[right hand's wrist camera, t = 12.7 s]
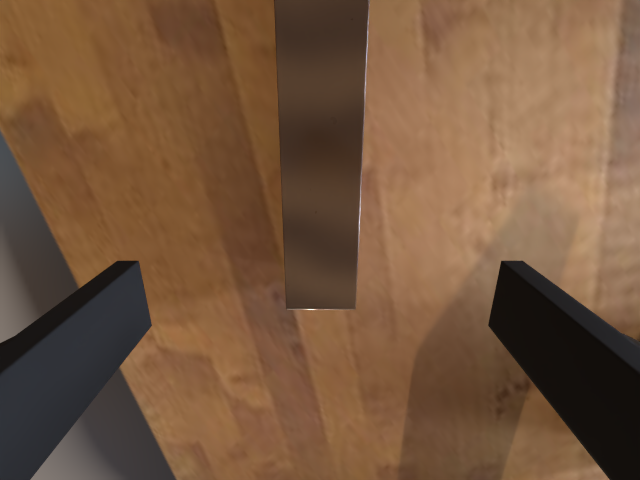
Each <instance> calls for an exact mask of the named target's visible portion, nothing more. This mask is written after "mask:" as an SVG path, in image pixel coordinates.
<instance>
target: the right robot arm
mask: <svg viewBox="0 0 640 480" xmlns="http://www.w3.org/2000/svg"><path fill="white" fill-rule="evenodd" d="M151 326H152V324H151V319H150V314H149V309H148V305H147V300H146V295H145V290H144V285H143V280H142V275H141V270H140V265H139V261H117V262H115V263H114V264H112V265H111V266H110V267H108V268H107V269H106V270H104V271H103V272H102V273H100V274H99V275H97V276H96V277H95V278H93V279H92V280H91V281H89V282H88V283H87V284H85V285H84V286H82V287H81V288H80V289H78V290H77V291H76V292H74V293H73V294H72V295H70V296H69V297H68V298H66V299H65V300H63V301H62V302H61V303H59V304H58V305H57V306H55V307H54V308H52V309H51V310H50V311H48V312H47V313H46V314H44V315H43V316H42V317H40V318H39V319H37V320H36V321H35V322H33V323H32V324H31V325H29V326H28V327H27V328H25V329H24V330H22V331H21V332H20V333H18V334H17V335H16V336H14V337H12V338H10V339H8V340H6V341H4V342H2V343H0V480H30V479H31V478H32V477H33V475H34V474H35V473H36V472H37V470H38V469H39V468H40V466H41V465H42V464H43V463H44V462H45V460H46V459H47V458H48V456H49V455H50V454H51V453H52V451H53V450H54V449H55V448H56V446H57V445H58V444H59V442H60V441H61V440H62V439H63V437H64V436H65V435H66V434H67V432H68V431H69V430H70V429H71V427H72V426H73V425H74V423H75V422H76V421H77V420H78V418H79V417H80V416H81V415H82V413H83V412H84V411H85V409H86V408H87V407H88V406H89V404H90V403H91V402H92V401H93V399H94V398H95V397H96V396H97V394H98V393H99V392H100V390H101V389H102V388H103V387H104V385H105V384H106V383H107V382H108V380H109V379H110V378H111V377H112V375H113V374H114V373H115V371H116V370H117V369H118V368H119V366H120V365H121V364H122V363H123V361H124V360H125V359H126V358H127V356H128V355H129V354H130V352H131V351H132V350H133V349H134V347H135V346H136V345H137V344H138V342H139V341H140V340H141V339H142V337H143V336H144V335H145V333H146V332H147V331H148V330H149V328H150V327H151ZM488 326H489V327H490V328H491V330H492V331H493V332H494V333H495V335H496V336H497V337H498V339H499V340H500V341H501V342H502V344H503V345H504V346H505V347H506V349H507V350H508V351H509V352H510V354H511V355H512V356H513V358H514V359H515V360H516V361H517V363H518V364H519V365H520V366H521V368H522V369H523V370H524V371H525V373H526V374H527V375H528V377H529V378H530V379H531V380H532V382H533V383H534V384H535V385H536V387H537V388H538V389H539V391H540V392H541V393H542V394H543V396H544V397H545V398H546V399H547V401H548V402H549V403H550V404H551V406H552V407H553V408H554V410H555V411H556V412H557V413H558V415H559V416H560V417H561V418H562V420H563V421H564V422H565V423H566V425H567V426H568V427H569V429H570V430H571V431H572V432H573V434H574V435H575V436H576V437H577V439H578V440H579V441H580V442H581V444H582V445H583V446H584V448H585V449H586V450H587V451H588V453H589V454H590V455H591V456H592V458H593V459H594V460H595V462H596V463H597V464H598V465H599V467H600V468H601V469H602V470H603V472H604V473H605V474H606V475H607V477H608V478H609V479H610V480H640V342H639V341H637V340H635V339H633V338H631V337H629V336H627V335H625V334H622V333H620V332H619V331H618V330H616V329H615V328H613V327H612V326H611V325H609V324H608V323H607V322H605V321H604V320H603V319H601V318H600V317H598V316H597V315H596V314H594V313H593V312H592V311H590V310H589V309H588V308H586V307H585V306H583V305H582V304H581V303H579V302H578V301H577V300H575V299H574V298H573V297H571V296H570V295H568V294H567V293H566V292H564V291H563V290H562V289H560V288H559V287H558V286H556V285H555V284H553V283H552V282H551V281H549V280H548V279H547V278H545V277H544V276H543V275H541V274H540V273H538V272H537V271H536V270H534V269H533V268H532V267H530V266H529V265H528V264H526V263H525V262H523V261H501V265H500V270H499V275H498V280H497V285H496V290H495V295H494V300H493V305H492V309H491V314H490V319H489V324H488Z"/></svg>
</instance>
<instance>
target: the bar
mask: <svg viewBox="0 0 640 480" xmlns="http://www.w3.org/2000/svg"><path fill="white" fill-rule="evenodd" d="M369 1H370V0H274V8H275V33H276V59H277V84H278V110H279V136H280V161H281V187H282V213H283V238H284V264H285V290H286V309H287V310H356V295H357V273H358V250H359V227H360V205H361V182H362V159H363V137H364V114H365V92H366V69H367V46H368V24H369Z"/></svg>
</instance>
